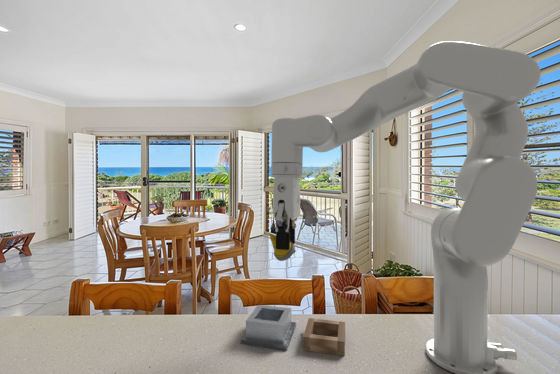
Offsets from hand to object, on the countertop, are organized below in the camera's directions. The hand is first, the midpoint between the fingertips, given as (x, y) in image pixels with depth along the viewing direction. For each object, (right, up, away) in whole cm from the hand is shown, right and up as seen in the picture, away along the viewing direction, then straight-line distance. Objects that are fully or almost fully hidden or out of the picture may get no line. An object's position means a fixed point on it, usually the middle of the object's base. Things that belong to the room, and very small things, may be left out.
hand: (285, 245), depth 68 cm
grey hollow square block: (-4, -22, +1) cm, 22 cm away
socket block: (+9, -22, -2) cm, 24 cm away
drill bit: (-1, -4, -1) cm, 4 cm away
